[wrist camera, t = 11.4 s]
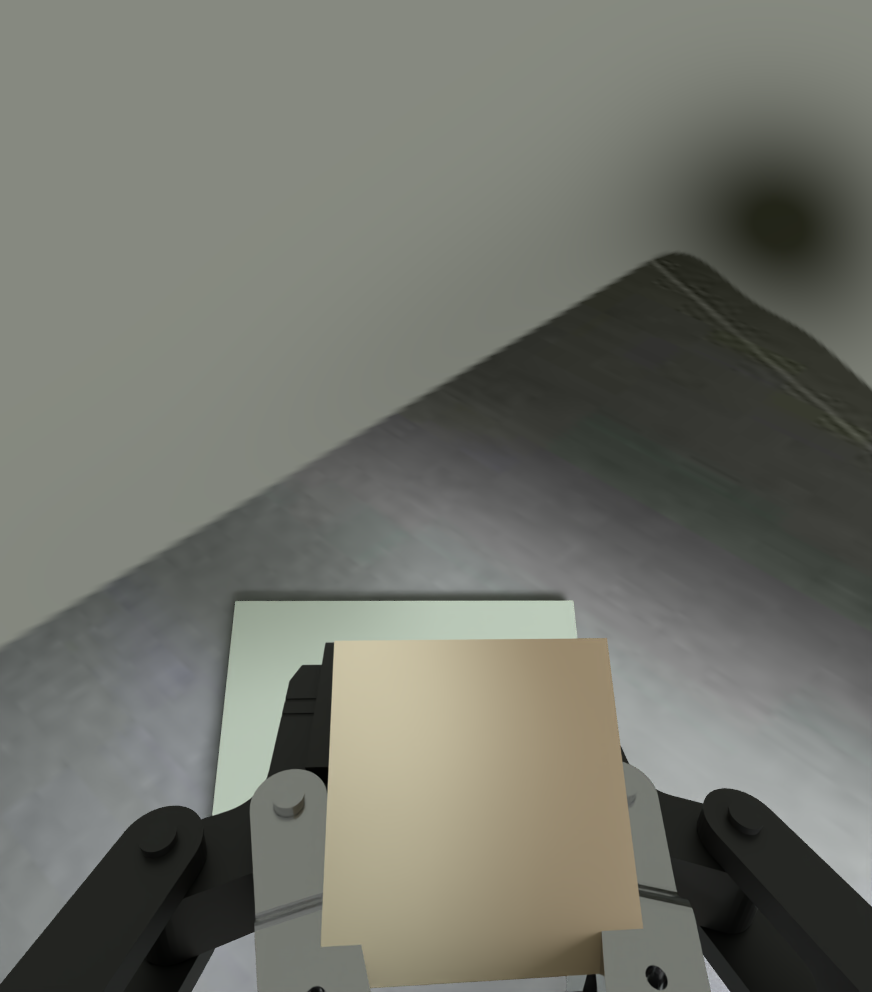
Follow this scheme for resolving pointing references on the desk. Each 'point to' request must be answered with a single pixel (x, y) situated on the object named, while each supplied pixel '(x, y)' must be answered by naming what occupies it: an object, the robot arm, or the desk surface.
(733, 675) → the desk surface
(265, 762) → the sage mat
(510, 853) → the birch block
